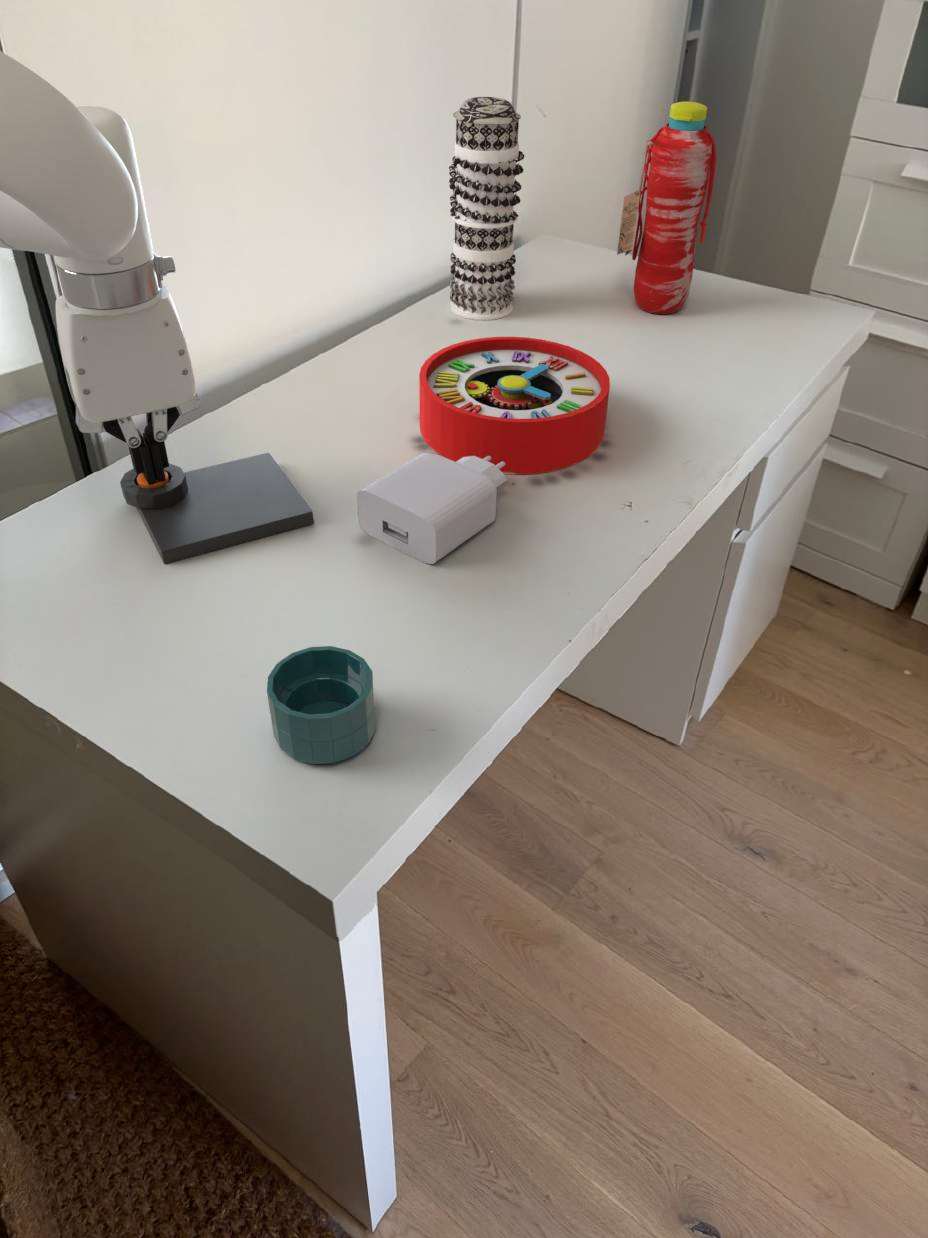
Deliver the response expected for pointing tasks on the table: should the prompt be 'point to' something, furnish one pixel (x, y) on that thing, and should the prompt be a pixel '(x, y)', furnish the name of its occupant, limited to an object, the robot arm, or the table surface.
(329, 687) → the bowl
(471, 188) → the decorative candle
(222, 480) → the dark grey flat slab
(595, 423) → the toy clock
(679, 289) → the water bottle
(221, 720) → the table surface
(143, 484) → the button
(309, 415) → the table surface
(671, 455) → the table surface
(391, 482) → the charger
